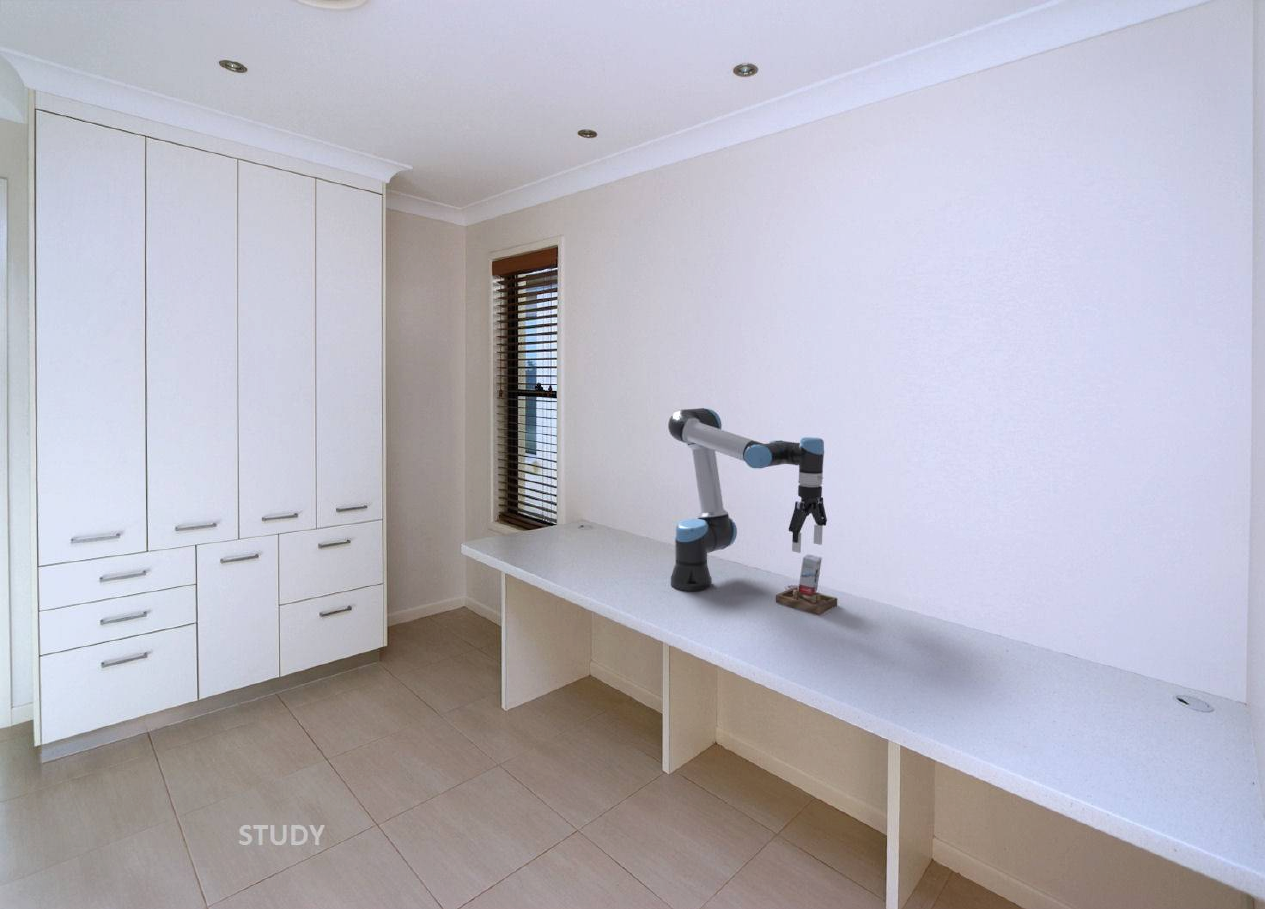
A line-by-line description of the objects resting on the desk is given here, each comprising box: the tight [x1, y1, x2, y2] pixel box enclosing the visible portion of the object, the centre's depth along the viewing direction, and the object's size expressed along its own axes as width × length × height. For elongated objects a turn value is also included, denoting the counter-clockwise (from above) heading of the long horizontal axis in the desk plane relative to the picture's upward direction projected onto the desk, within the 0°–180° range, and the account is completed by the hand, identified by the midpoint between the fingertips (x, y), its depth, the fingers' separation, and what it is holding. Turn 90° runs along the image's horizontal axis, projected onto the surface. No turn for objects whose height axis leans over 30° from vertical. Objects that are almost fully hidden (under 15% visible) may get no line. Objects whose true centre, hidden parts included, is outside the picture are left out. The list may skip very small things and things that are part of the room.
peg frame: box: [775, 586, 838, 616], centre depth 207 cm, size 16×12×4 cm
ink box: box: [798, 553, 823, 596], centre depth 207 cm, size 9×5×12 cm, turn 152°
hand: (807, 547), depth 205 cm, fingers open, 13 cm apart
